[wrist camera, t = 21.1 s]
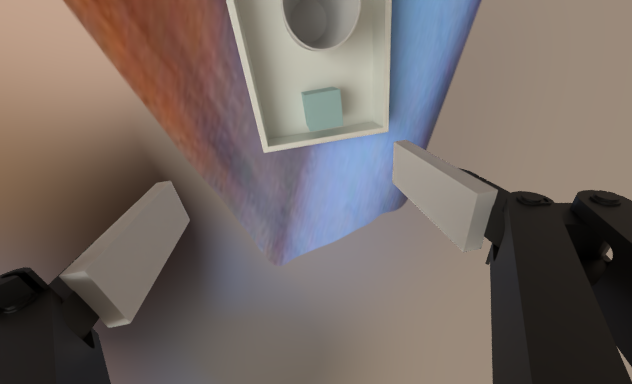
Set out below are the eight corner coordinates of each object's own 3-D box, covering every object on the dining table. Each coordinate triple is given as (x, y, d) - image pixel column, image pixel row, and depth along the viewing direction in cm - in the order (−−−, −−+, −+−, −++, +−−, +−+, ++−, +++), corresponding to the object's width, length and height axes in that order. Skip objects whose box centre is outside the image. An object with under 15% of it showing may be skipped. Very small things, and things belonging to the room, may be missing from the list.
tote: (225, -25, 29) (215, -41, 24) (376, -42, 30) (393, -61, 26) (265, 143, 39) (264, 152, 35) (376, 124, 41) (388, 131, 36)
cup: (328, -27, 30) (349, -68, 21) (344, 44, 34) (368, 35, 25) (269, -4, 30) (266, -34, 21) (292, 64, 34) (298, 62, 25)
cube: (306, 124, 38) (310, 131, 34) (301, 92, 36) (304, 95, 31) (335, 119, 38) (343, 125, 34) (332, 86, 36) (340, 89, 32)
